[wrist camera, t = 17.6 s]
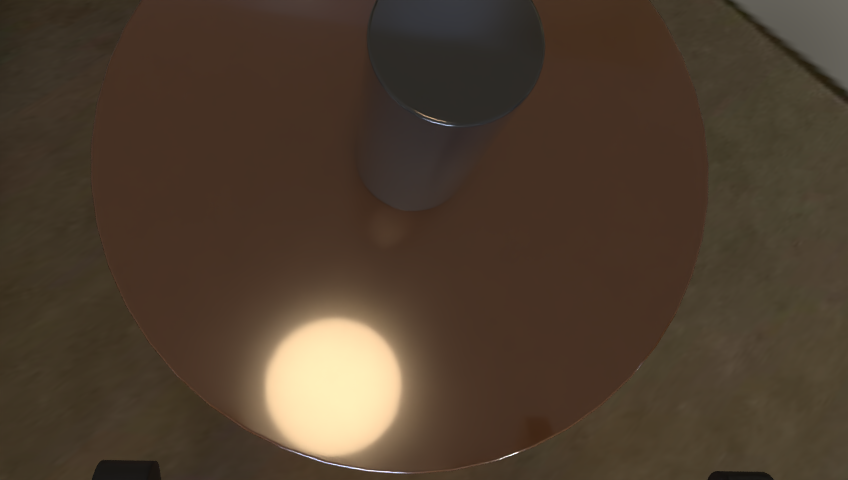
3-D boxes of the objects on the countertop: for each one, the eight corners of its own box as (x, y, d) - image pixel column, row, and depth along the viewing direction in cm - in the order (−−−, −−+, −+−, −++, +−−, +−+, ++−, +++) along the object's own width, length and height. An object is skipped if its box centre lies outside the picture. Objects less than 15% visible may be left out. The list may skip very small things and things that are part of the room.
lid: (760, 35, 21) (1008, -153, 13) (569, 563, 18) (738, 705, 11) (261, -193, 20) (219, -528, 13) (-8, 320, 18) (-262, 288, 10)
